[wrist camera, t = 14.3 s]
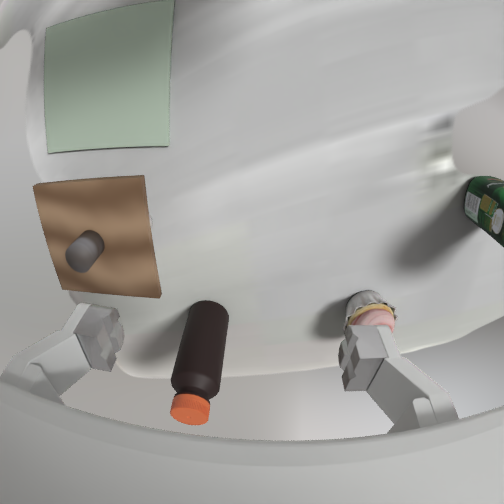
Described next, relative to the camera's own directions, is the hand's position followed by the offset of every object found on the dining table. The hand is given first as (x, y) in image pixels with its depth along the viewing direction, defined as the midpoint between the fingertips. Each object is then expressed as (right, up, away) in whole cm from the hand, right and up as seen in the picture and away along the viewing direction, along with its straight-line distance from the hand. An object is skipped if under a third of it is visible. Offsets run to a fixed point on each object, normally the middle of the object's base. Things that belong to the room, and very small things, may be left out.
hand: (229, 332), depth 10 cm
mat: (-19, +26, +22) cm, 39 cm away
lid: (-19, +4, +25) cm, 32 cm away
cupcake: (+20, -6, +39) cm, 44 cm away
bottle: (-6, -8, +41) cm, 42 cm away
